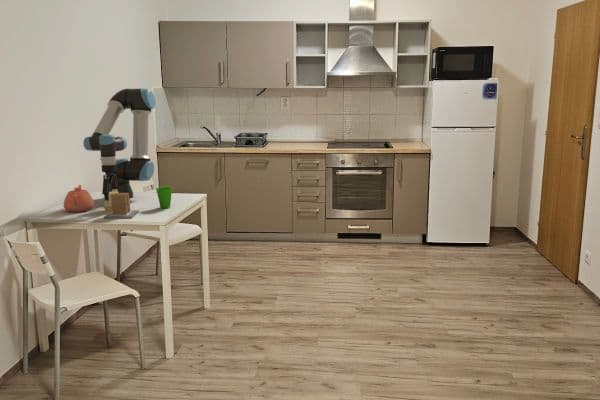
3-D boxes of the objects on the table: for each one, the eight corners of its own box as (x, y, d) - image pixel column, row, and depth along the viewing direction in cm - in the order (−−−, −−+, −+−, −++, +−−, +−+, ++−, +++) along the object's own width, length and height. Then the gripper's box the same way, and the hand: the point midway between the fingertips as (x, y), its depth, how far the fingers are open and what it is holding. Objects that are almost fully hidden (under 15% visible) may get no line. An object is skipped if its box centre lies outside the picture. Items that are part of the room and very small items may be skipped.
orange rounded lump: (67, 206, 306) (65, 184, 304) (96, 204, 310) (94, 183, 307) (61, 215, 285) (58, 192, 283) (91, 213, 289) (89, 190, 286)
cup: (176, 206, 304) (175, 187, 302) (168, 210, 296) (167, 190, 293) (162, 205, 306) (161, 186, 304) (153, 209, 298) (152, 189, 296)
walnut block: (116, 211, 287) (115, 193, 285) (130, 211, 287) (128, 192, 285) (112, 214, 280) (111, 195, 278) (126, 214, 280) (125, 195, 278)
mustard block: (108, 209, 297) (107, 191, 295) (119, 209, 297) (118, 191, 295) (105, 212, 291) (103, 193, 289) (116, 212, 291) (115, 193, 289)
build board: (112, 212, 290) (111, 210, 290) (138, 212, 291) (138, 209, 291) (103, 218, 277) (103, 216, 276) (131, 218, 277) (131, 216, 277)
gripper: (108, 161, 301) (111, 199, 305) (93, 167, 277) (96, 208, 281) (122, 161, 301) (125, 199, 306) (108, 167, 277) (111, 208, 281)
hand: (111, 203), depth 293 cm, fingers open, 13 cm apart
